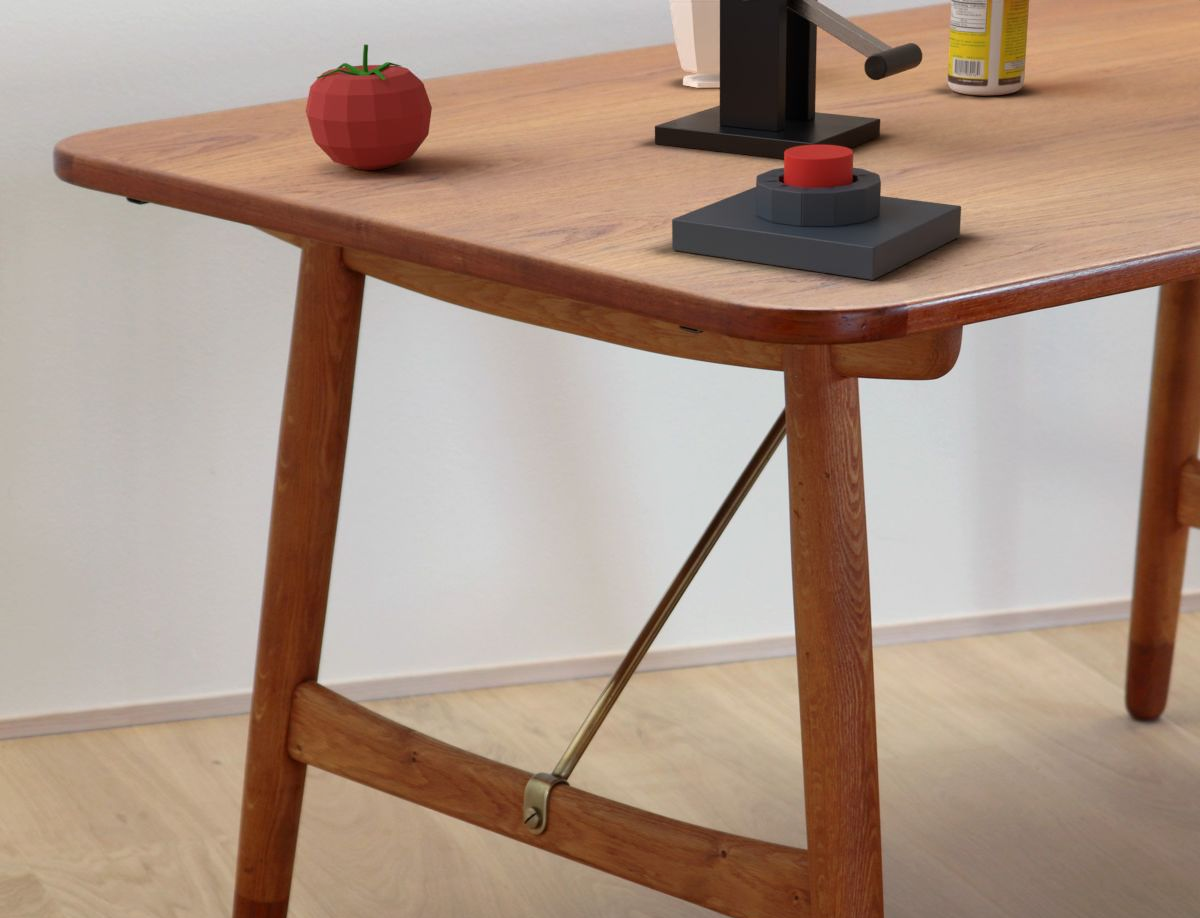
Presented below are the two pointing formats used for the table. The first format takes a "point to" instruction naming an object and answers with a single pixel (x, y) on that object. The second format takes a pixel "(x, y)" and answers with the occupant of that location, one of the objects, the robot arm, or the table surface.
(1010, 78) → the supplement bottle
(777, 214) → the block
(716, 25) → the cup
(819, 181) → the button
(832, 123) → the bracket
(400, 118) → the tomato
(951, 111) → the table surface
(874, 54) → the lever
